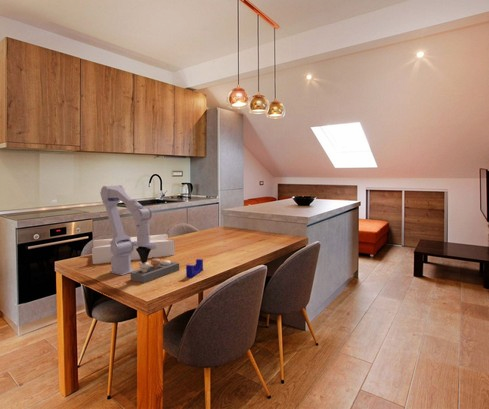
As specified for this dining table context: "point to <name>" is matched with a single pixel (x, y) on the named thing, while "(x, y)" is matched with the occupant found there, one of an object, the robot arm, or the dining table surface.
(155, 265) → the knob middle
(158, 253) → the building model
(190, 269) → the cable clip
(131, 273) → the mount
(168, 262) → the knob far
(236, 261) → the dining table surface
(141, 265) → the knob near
